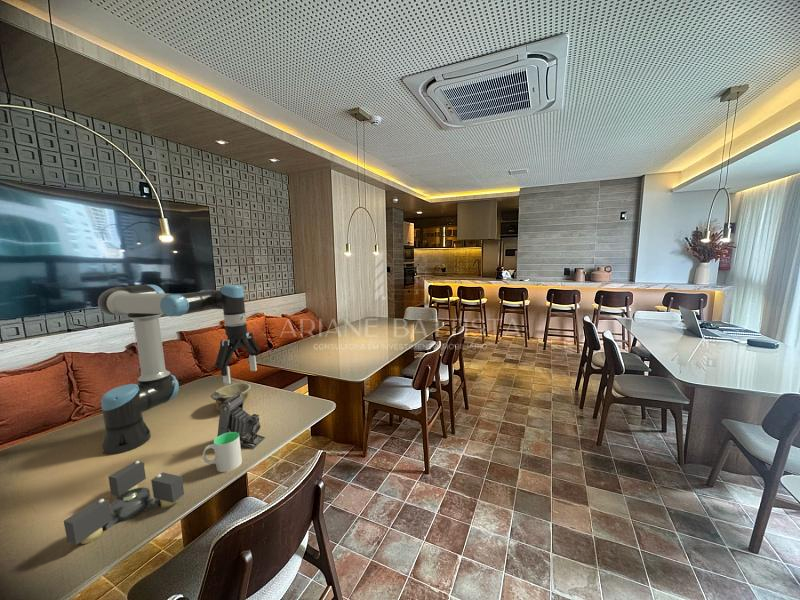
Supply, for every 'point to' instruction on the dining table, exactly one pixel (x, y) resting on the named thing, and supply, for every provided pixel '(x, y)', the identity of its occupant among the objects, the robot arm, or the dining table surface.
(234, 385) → the bowl
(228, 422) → the camera
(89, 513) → the knob
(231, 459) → the mug
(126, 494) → the level base
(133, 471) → the grey block with dot
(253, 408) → the dining table surface
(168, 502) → the knob
